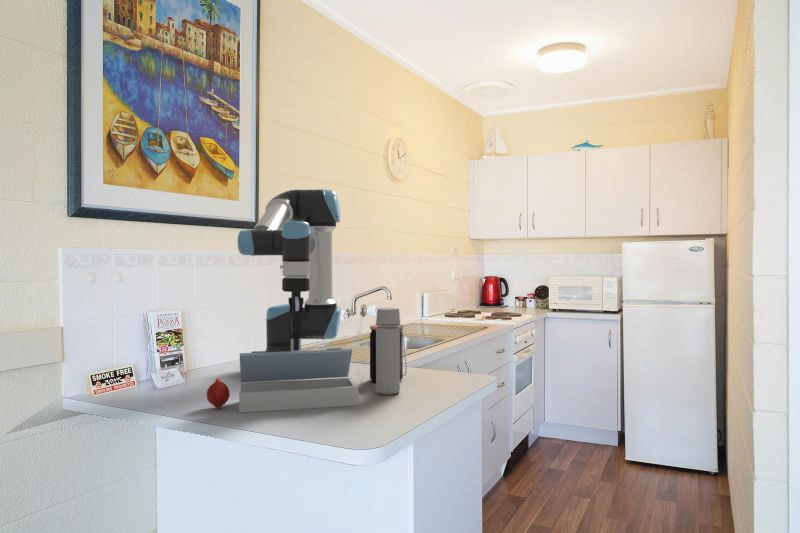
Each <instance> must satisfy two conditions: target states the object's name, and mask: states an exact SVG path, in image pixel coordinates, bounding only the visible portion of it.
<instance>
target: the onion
mask: <svg viewBox="0 0 800 533" xmlns="http://www.w3.org/2000/svg"><path fill="white" fill-rule="evenodd" d="M214 381H215V382H213V383H212V384H210V385H209V386H208V387H207V392H206V399H207V401H208V402H209V403H210V405H212V406H213V407H215V408H216V409H221V407H223V406H224V405H225V404H227V402H228V401H229V398H230V389H229V387H228V385H227V384H226V383H224V382H223V381H222V380H221V379H220V378H216V379H215V380H214Z"/></svg>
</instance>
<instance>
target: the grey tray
mask: <svg viewBox="0 0 800 533" xmlns="http://www.w3.org/2000/svg"><path fill="white" fill-rule="evenodd" d="M359 388H360V386H359V385H358V384H357V383H356V381H355V380H354V378H353V377H337V378H318V379H298V380H279V381H259V382H240V391H239V393H238V400H239V401H238V409H239V410H238V413H239V414H242V413H243V414H244V413H256V412H257V413H258V412H260V413H261V412H271V411H272V412H274V411H290V410H305V409H306V410H307V409H308V410H309V409H321V408H335V407H351V406H354V407H355V406H359V405H360V402H359V401H360V398H359V397H360V396H359V395H360V394H359V393H360V392H359V391H360V389H359Z"/></svg>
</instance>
